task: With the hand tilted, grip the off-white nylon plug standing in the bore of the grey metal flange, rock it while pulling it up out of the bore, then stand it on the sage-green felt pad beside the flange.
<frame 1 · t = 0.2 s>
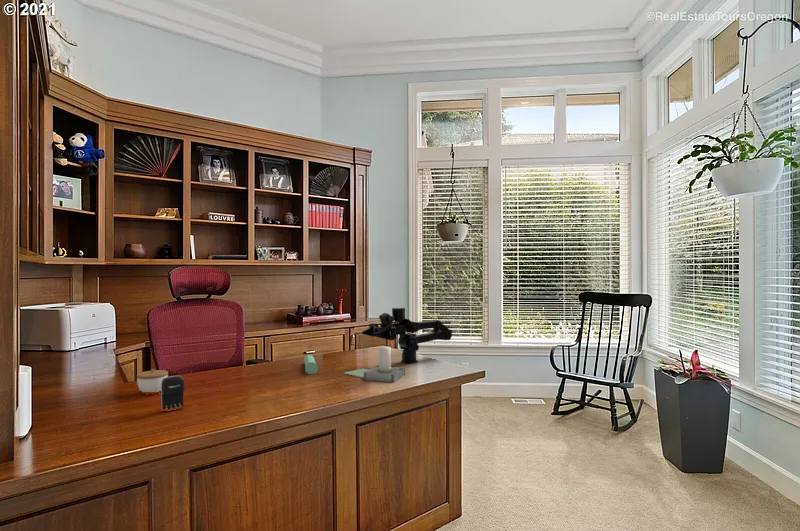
hand: (367, 333, 222), 17 cm above the table, tool horizontal, fingers open, 9 cm apart
end plug: (384, 362, 206), in the flange
felt pad: (362, 373, 213), on the table
green faceted rod: (310, 369, 225), on the table
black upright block: (173, 410, 160), on the table
flange: (384, 377, 206), on the table
lidded jar: (152, 393, 182), on the table
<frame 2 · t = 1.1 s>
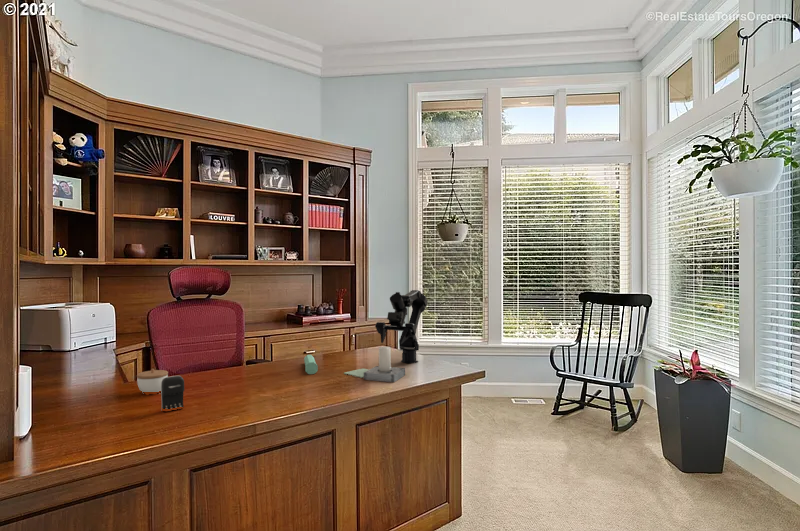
hand: (391, 343, 213), 14 cm above the table, tool tilted 45°, fingers open, 9 cm apart
nothing on the table moved.
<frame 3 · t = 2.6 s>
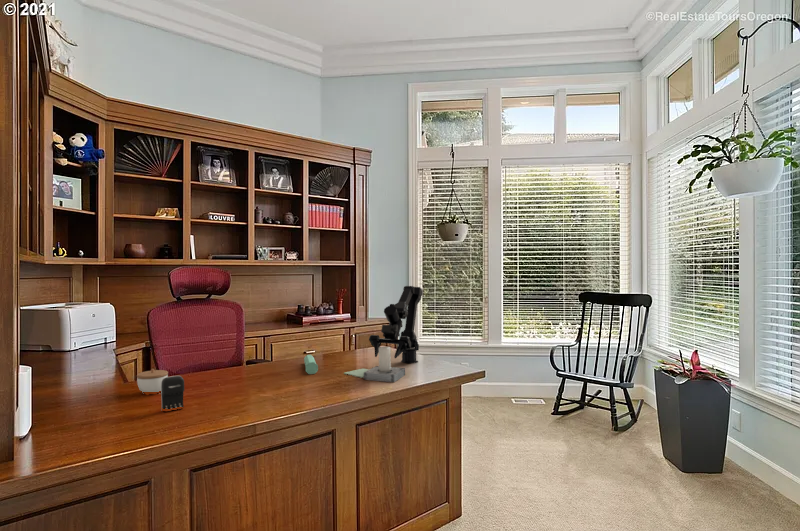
hand: (385, 357, 206), 9 cm above the table, tool tilted 45°, fingers open, 9 cm apart
nothing on the table moved.
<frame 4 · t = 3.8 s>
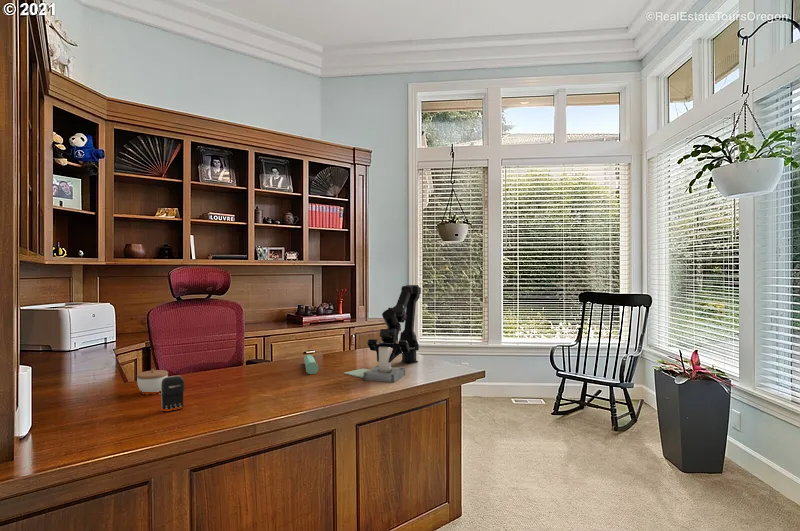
hand: (383, 361, 204), 7 cm above the table, tool tilted 45°, fingers closed on end plug, 5 cm apart
end plug: (384, 362, 206), in the flange, touching gripper
everything else where it was.
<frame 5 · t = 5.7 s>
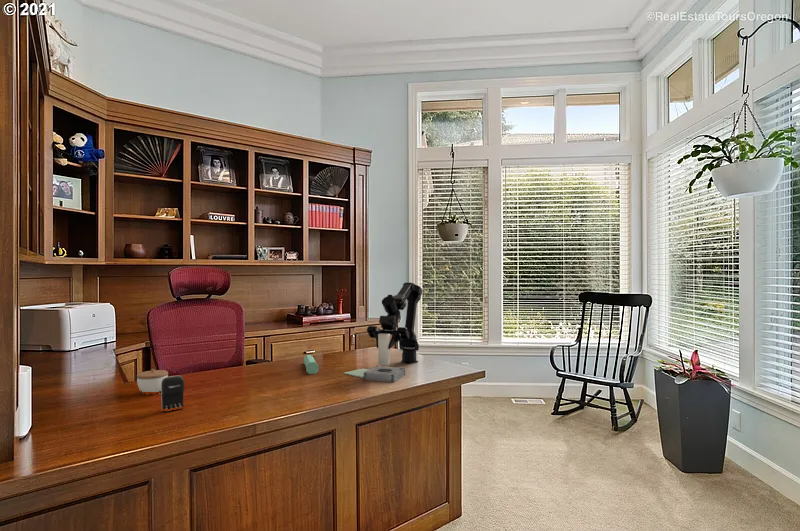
hand: (383, 348, 204), 13 cm above the table, tool tilted 45°, fingers closed on end plug, 5 cm apart
end plug: (384, 348, 206), point 12 cm above the table, touching gripper
everything else where it was.
when the fingers open (8 cm above the table, at t = 7.9 s): end plug stays where it is, resting on felt pad.
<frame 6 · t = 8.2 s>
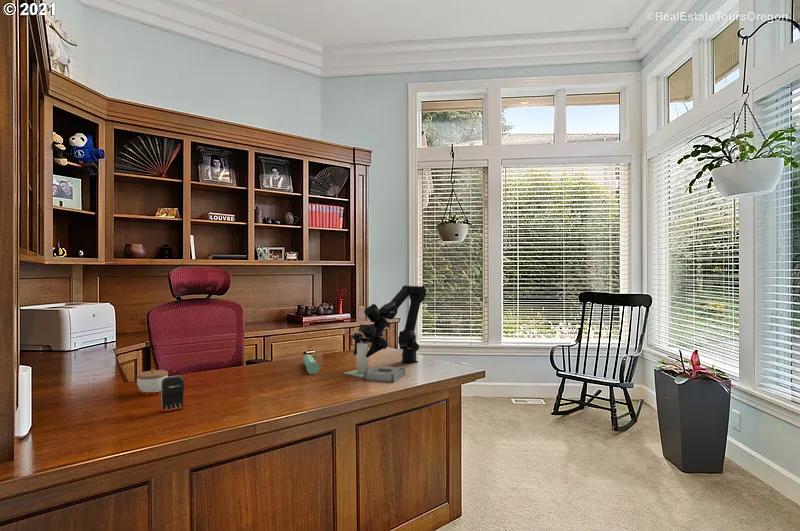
hand: (360, 355, 212), 8 cm above the table, tool tilted 45°, fingers open, 8 cm apart
end plug: (362, 357, 213), on the felt pad
everything else where it was.
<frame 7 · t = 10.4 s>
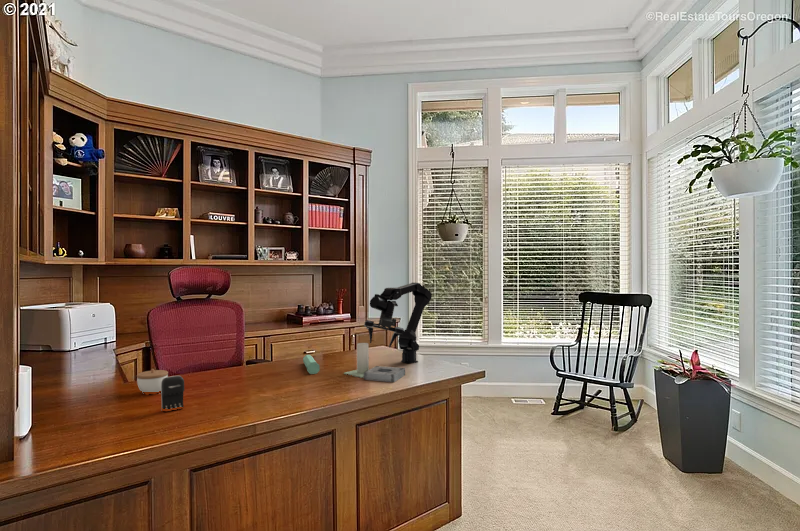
hand: (380, 345, 221), 11 cm above the table, tool tilted 20°, fingers open, 9 cm apart
nothing on the table moved.
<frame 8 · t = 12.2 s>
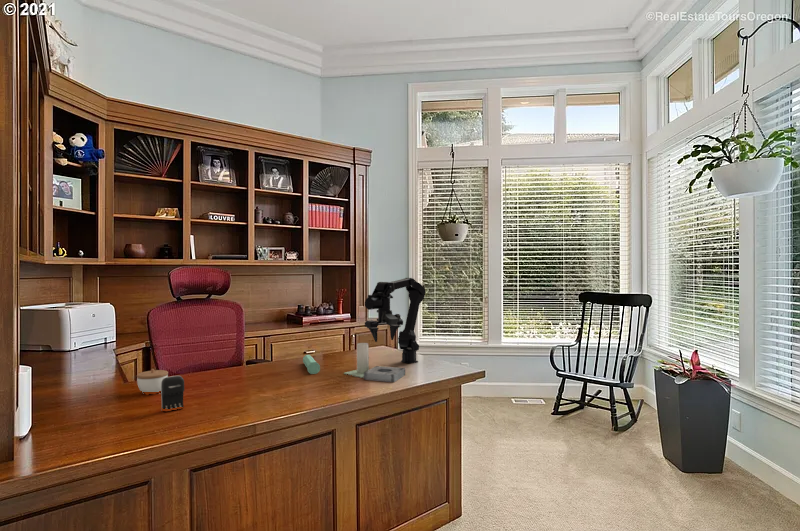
hand: (384, 340, 224), 13 cm above the table, tool pointing down, fingers open, 9 cm apart
nothing on the table moved.
at the end: end plug inside the target area on the felt pad (0.1 cm from its centre), point 7.0 cm above the felt pad's base; end plug tilted 0°; end plug touching felt pad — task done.
